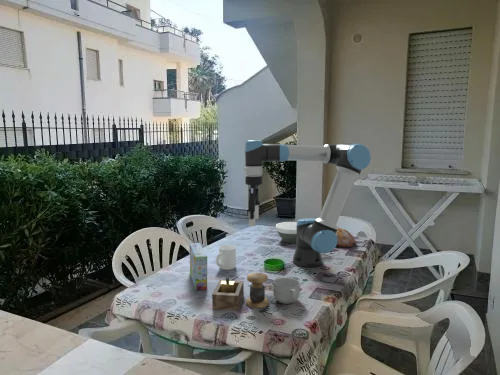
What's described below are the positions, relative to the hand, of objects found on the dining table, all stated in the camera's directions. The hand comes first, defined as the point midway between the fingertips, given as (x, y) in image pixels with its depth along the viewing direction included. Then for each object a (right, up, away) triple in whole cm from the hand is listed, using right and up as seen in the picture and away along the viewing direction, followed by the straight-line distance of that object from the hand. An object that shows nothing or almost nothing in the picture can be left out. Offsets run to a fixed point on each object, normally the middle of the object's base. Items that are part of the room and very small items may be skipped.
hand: (254, 222), depth 164 cm
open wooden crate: (-10, -30, -19) cm, 37 cm away
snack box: (-25, -27, +2) cm, 37 cm away
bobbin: (+1, -30, -20) cm, 36 cm away
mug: (-14, -25, +18) cm, 34 cm away
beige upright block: (-11, -29, -19) cm, 36 cm away
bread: (+53, -19, +57) cm, 80 cm away
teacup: (+13, -30, -19) cm, 38 cm away
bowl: (+24, -18, +65) cm, 71 cm away
